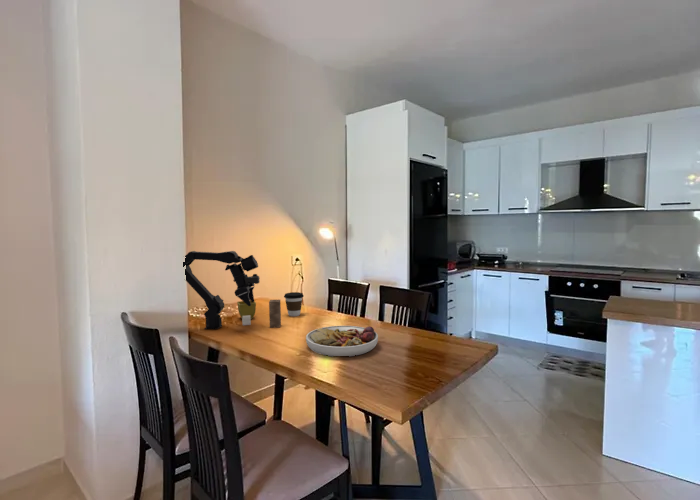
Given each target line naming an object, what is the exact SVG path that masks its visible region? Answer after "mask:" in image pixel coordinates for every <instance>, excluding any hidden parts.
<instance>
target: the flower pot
mask: <svg viewBox="0 0 700 500" xmlns="http://www.w3.org/2000/svg"><path fill="white" fill-rule="evenodd" d="M236 303H237V311H238V313H239V315H240V318H241V319H242V316H248V315H251V320H252V319H253V318H254V317H255V315H256V309H257V308H256V306H257V302H256V301H254V302H252V301H251V300H250V303H251V306H248V305H247V304H246V303H245V302H243V301H242V300H240V301H237V302H236Z"/></svg>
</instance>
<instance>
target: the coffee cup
mask: <svg viewBox="0 0 700 500" xmlns="http://www.w3.org/2000/svg"><path fill="white" fill-rule="evenodd" d="M283 298H284V299H285V304H286V305H285V306H286V310H287V314H288V316H289V317H298V316H300V315H301V311H302V307H303V306H302V305H303V298H304V293H303V292H298V291H297V292H296V291H294V292H286V293H285V294H284V296H283Z"/></svg>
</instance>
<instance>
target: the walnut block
mask: <svg viewBox="0 0 700 500" xmlns="http://www.w3.org/2000/svg"><path fill="white" fill-rule="evenodd" d="M268 308H269V310H268V312H269V314H268V315H269V329H273V328H274V329H275V328H281V326H282V317H281V316H282V314H281V313H282V311H281V299H270V300H269V302H268Z"/></svg>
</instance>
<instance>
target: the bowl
mask: <svg viewBox="0 0 700 500" xmlns="http://www.w3.org/2000/svg"><path fill="white" fill-rule="evenodd" d="M305 341H306V345H307V346H308V348H309V349H310V350H311V351H313V352H314V353H316V354H318V355H322V354H323V355H322V356H326V355H328V356H327V357H333V356H349V357H354V356H355V355H356V356H359V355H364V354H366V353H368V352H371V350H373V349H374V348H375V347H376V345H377V344H378V341H379V335H378V333H377V332H376V331H375V329H374V327H372V326H367V327H362V326H356V325H331V326H324V327H319V328H316V329H313V330H311V331H309V332H308V333H307V334H306V335H305Z"/></svg>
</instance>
